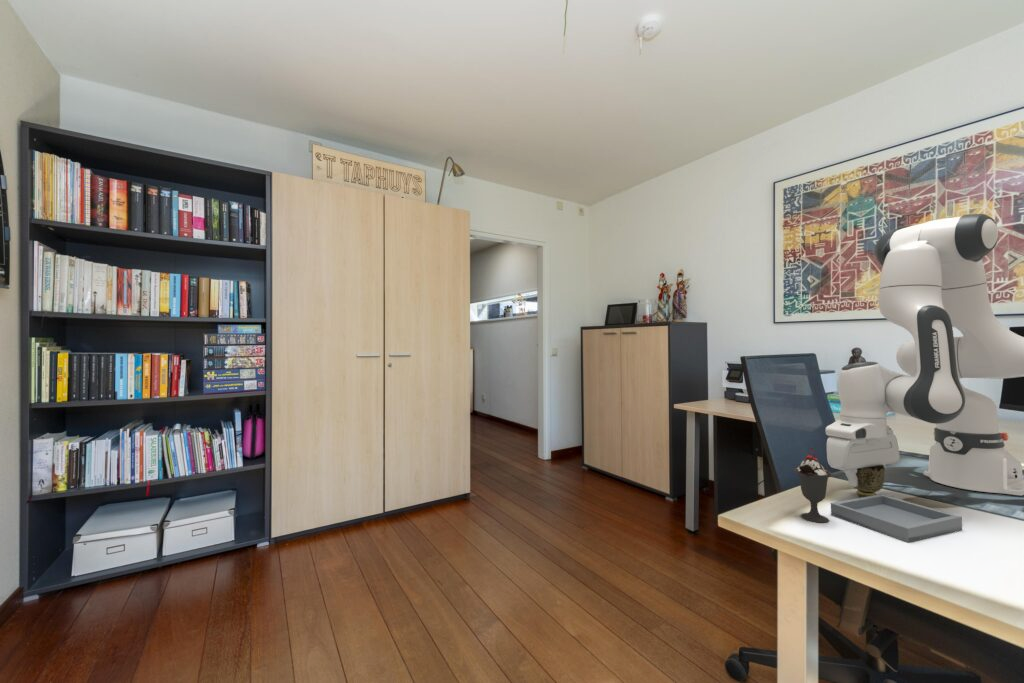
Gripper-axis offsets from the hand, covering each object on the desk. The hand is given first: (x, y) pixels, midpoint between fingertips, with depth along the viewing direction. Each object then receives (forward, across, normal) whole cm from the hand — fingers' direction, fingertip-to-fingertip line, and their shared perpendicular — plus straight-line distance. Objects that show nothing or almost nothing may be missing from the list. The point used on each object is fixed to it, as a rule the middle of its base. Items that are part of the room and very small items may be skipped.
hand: (865, 484), depth 100 cm
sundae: (+3, +24, +5) cm, 25 cm away
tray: (+3, +11, +12) cm, 17 cm away
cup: (+3, 0, 0) cm, 3 cm away
